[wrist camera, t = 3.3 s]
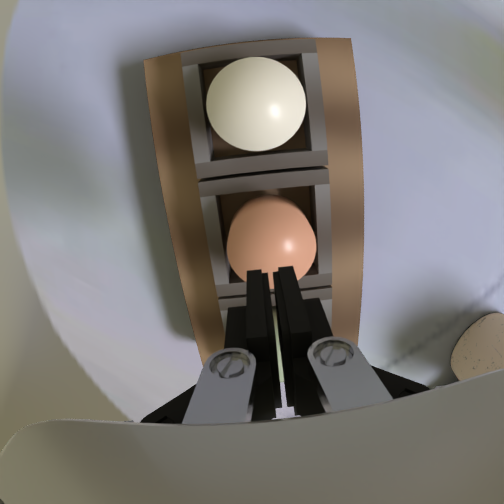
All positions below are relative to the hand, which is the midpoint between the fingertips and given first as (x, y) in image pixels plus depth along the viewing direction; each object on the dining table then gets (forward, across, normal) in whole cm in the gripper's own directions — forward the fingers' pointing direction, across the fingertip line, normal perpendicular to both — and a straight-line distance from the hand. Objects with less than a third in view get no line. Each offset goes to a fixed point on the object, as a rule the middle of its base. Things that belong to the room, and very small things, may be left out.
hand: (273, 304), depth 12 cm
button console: (+11, 0, 0) cm, 11 cm away
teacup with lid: (+12, -24, +17) cm, 32 cm away
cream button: (+7, 0, -7) cm, 10 cm away
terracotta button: (+7, 0, 0) cm, 7 cm away
